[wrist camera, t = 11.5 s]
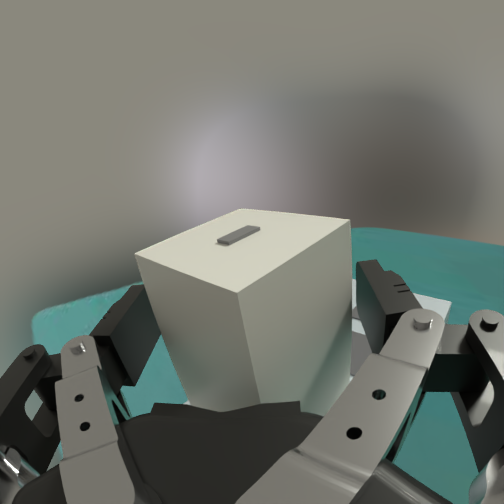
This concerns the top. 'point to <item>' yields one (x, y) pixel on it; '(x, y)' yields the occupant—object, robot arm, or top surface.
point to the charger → (256, 308)
